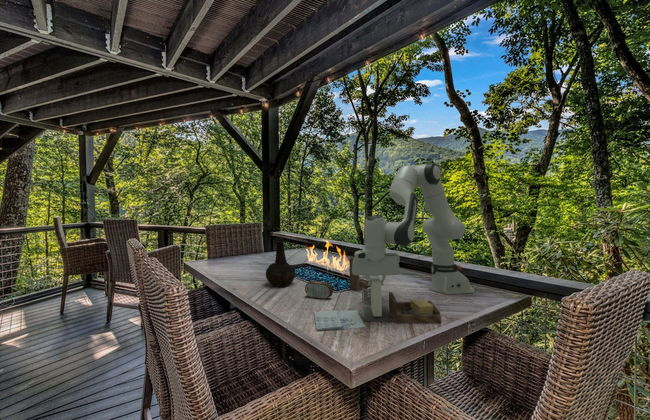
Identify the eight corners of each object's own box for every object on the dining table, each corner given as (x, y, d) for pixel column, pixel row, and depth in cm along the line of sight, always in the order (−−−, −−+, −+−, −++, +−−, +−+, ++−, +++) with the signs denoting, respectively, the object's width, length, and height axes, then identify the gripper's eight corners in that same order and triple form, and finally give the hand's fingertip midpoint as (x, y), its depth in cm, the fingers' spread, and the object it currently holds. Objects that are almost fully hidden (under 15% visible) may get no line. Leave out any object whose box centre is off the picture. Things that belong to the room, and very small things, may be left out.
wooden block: (367, 289, 176) (366, 256, 176) (366, 291, 172) (365, 258, 171) (351, 288, 179) (350, 256, 178) (349, 290, 174) (349, 258, 174)
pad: (385, 309, 144) (385, 308, 144) (390, 321, 130) (390, 320, 130) (363, 309, 144) (363, 308, 144) (365, 321, 130) (365, 320, 130)
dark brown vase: (280, 279, 203) (279, 235, 202) (301, 282, 192) (300, 237, 191) (259, 285, 188) (258, 238, 187) (281, 290, 178) (280, 240, 177)
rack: (429, 308, 144) (429, 291, 143) (441, 323, 127) (440, 303, 126) (388, 308, 145) (388, 291, 145) (394, 323, 128) (394, 303, 128)
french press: (376, 308, 145) (375, 254, 144) (353, 304, 151) (352, 252, 150) (384, 302, 153) (383, 251, 152) (362, 299, 159) (361, 249, 158)
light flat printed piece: (313, 314, 141) (313, 310, 141) (358, 312, 142) (358, 307, 142) (315, 332, 122) (315, 327, 122) (367, 330, 123) (367, 324, 123)
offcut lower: (425, 312, 140) (425, 305, 140) (432, 320, 131) (432, 313, 131) (412, 312, 140) (412, 306, 140) (418, 320, 131) (418, 313, 131)
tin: (333, 298, 161) (332, 282, 161) (330, 300, 158) (330, 283, 158) (307, 295, 167) (306, 279, 167) (304, 297, 164) (303, 281, 164)
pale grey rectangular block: (378, 307, 142) (378, 276, 142) (381, 316, 131) (381, 283, 131) (371, 307, 142) (370, 276, 142) (373, 316, 132) (372, 283, 131)
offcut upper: (423, 305, 140) (423, 299, 140) (433, 312, 131) (433, 305, 131) (410, 306, 139) (410, 300, 139) (419, 314, 130) (419, 306, 130)
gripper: (398, 251, 138) (398, 282, 139) (351, 252, 140) (352, 283, 140) (400, 254, 132) (401, 286, 133) (351, 254, 133) (352, 287, 134)
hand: (375, 285), depth 136 cm, fingers closed on pale grey rectangular block, 3 cm apart
